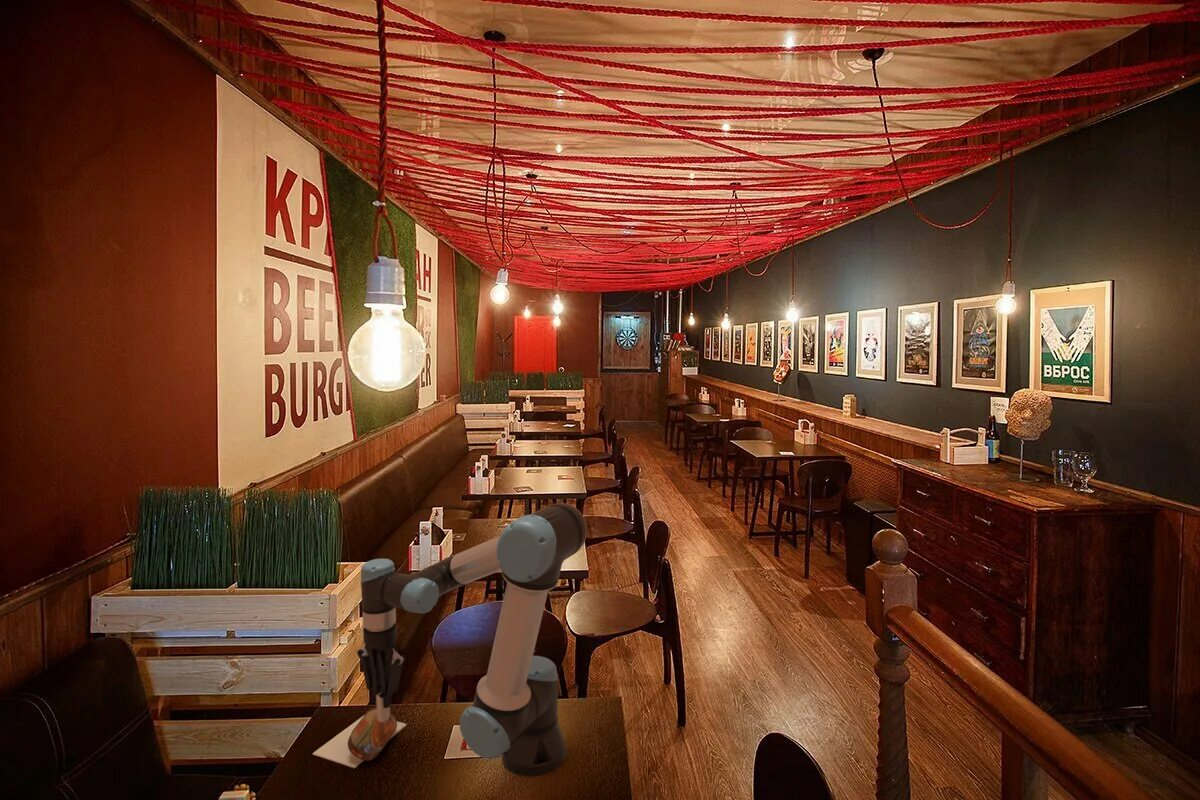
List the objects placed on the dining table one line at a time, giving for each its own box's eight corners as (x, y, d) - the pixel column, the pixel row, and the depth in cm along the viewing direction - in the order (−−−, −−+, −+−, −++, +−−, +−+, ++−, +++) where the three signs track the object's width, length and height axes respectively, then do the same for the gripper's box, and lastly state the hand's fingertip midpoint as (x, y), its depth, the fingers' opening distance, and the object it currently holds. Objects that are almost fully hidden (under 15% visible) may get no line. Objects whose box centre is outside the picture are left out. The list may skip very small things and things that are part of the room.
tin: (374, 760, 150) (345, 738, 151) (368, 769, 151) (338, 747, 151) (403, 719, 165) (376, 700, 165) (396, 728, 166) (370, 709, 166)
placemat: (406, 725, 167) (406, 724, 167) (354, 768, 151) (354, 767, 151) (367, 714, 172) (367, 713, 172) (312, 754, 156) (312, 753, 156)
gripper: (412, 623, 156) (415, 716, 159) (369, 614, 161) (373, 704, 164) (390, 636, 149) (394, 733, 152) (347, 626, 154) (351, 720, 157)
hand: (383, 718), depth 158 cm, fingers closed
